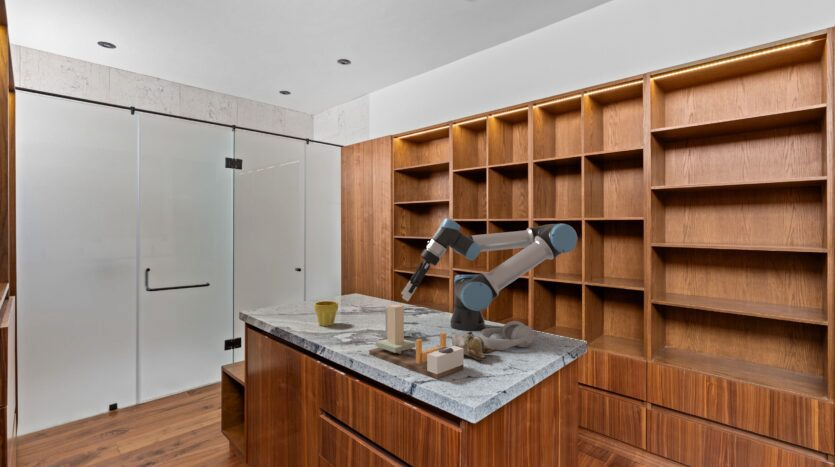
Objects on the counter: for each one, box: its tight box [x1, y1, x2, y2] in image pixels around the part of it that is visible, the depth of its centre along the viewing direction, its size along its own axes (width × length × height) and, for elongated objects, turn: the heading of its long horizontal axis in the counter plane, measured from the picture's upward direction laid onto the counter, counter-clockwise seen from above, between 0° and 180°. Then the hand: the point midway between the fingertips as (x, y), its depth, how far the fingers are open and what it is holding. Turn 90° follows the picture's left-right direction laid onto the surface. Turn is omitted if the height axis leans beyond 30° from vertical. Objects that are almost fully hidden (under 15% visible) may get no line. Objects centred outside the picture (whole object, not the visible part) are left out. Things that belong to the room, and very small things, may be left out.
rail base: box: [368, 347, 464, 380], centre depth 132 cm, size 32×12×2 cm, turn 44°
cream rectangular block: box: [427, 345, 464, 374], centre depth 122 cm, size 4×12×6 cm, turn 134°
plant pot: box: [314, 300, 339, 327], centre depth 182 cm, size 10×10×10 cm
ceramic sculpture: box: [451, 331, 498, 361], centre depth 138 cm, size 11×9×15 cm
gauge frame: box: [415, 332, 447, 364], centre depth 126 cm, size 1×12×7 cm, turn 135°
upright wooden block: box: [375, 304, 416, 354], centre depth 139 cm, size 10×9×15 cm
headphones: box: [479, 320, 535, 351], centre depth 152 cm, size 18×8×20 cm
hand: (404, 297), depth 162 cm, fingers open, 13 cm apart
